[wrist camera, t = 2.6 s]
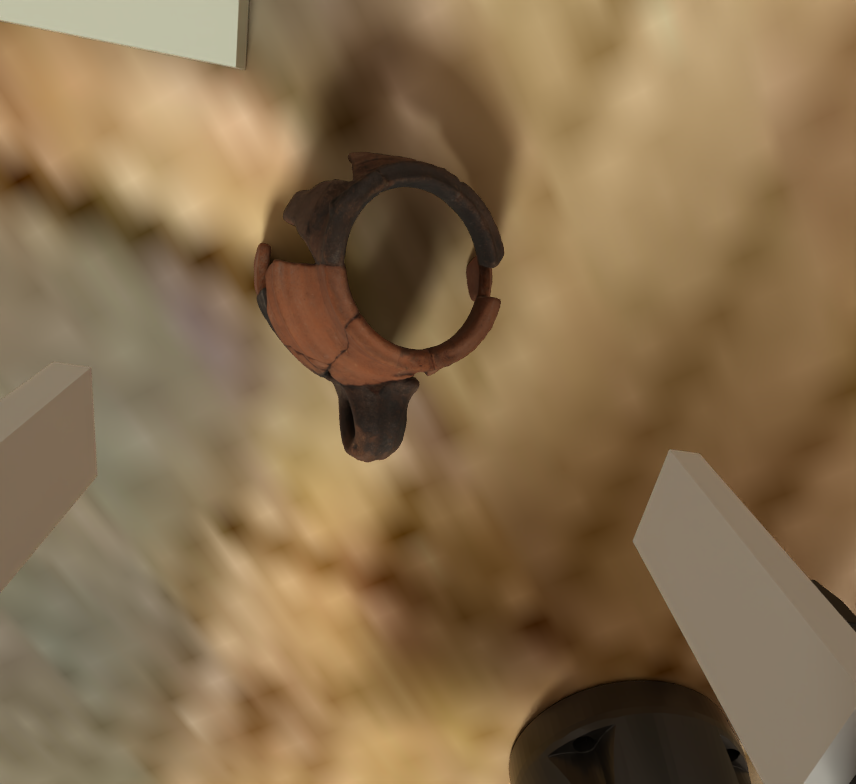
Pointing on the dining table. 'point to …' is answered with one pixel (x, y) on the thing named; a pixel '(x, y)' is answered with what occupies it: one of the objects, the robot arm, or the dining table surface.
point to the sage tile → (146, 25)
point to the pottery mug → (338, 314)
